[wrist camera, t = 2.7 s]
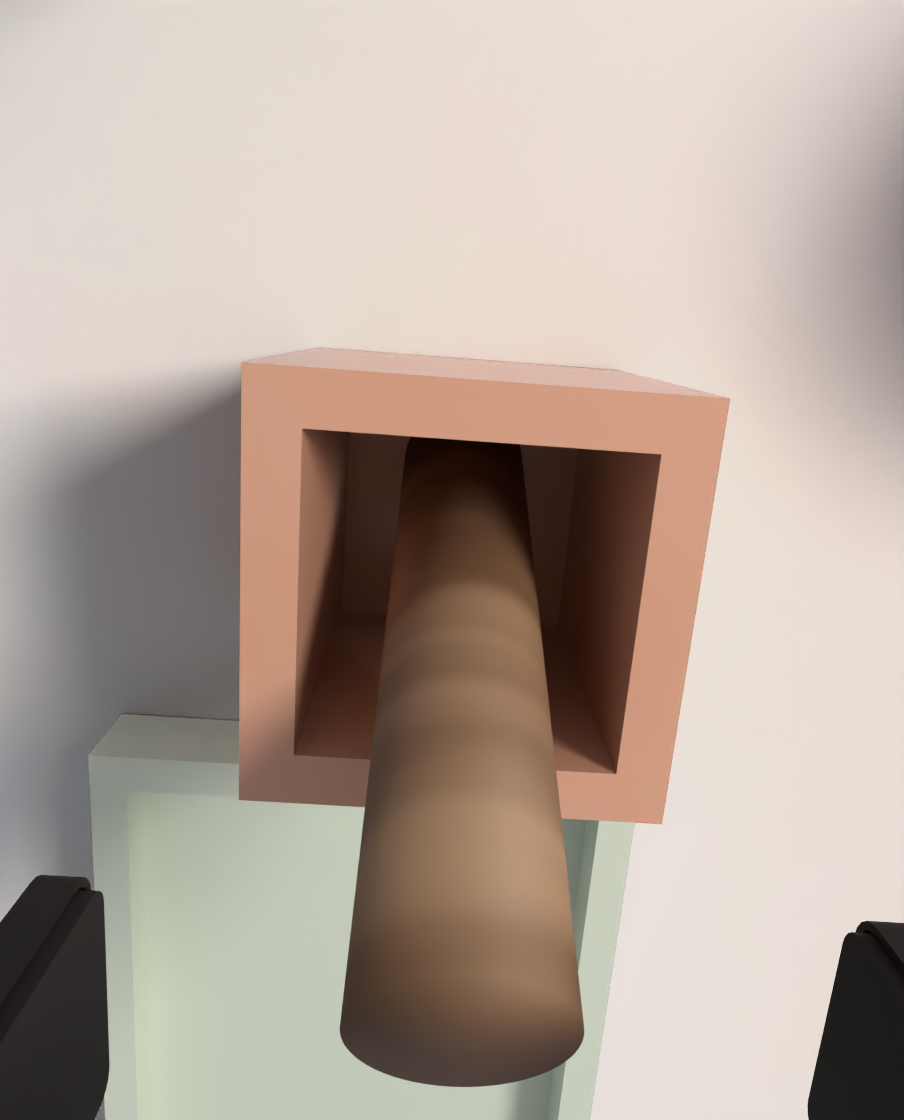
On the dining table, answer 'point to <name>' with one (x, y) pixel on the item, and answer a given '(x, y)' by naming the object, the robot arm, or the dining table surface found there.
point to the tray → (277, 945)
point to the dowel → (462, 797)
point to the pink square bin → (557, 545)
